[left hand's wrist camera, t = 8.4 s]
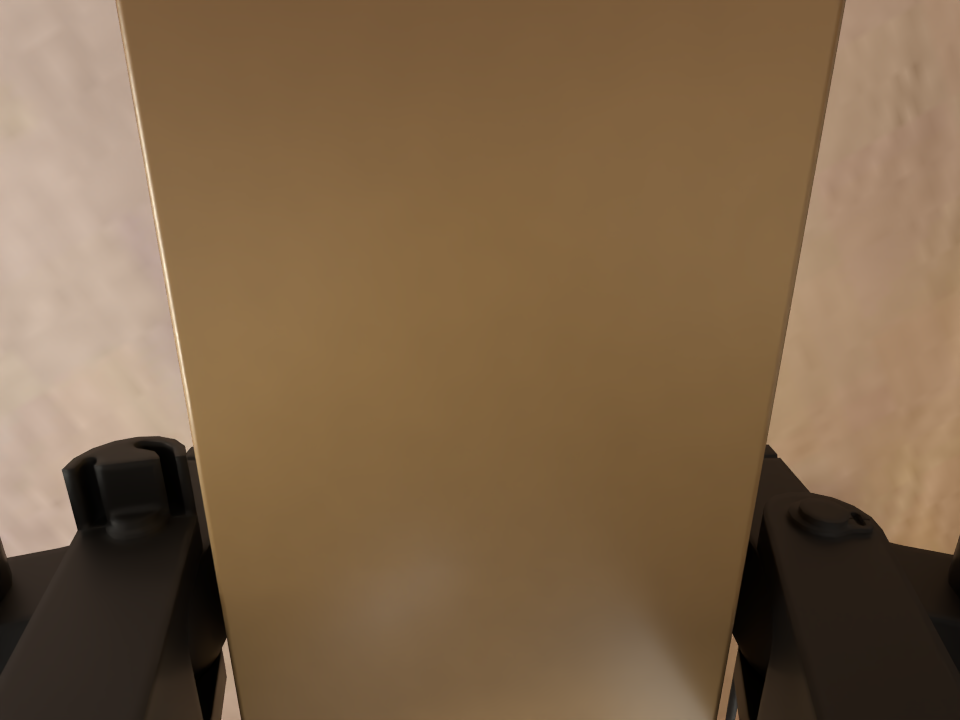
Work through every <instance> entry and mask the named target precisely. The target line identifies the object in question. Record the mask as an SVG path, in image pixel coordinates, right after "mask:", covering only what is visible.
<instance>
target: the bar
mask: <svg viewBox="0 0 960 720" xmlns="http://www.w3.org/2000/svg"><path fill="white" fill-rule="evenodd" d="M115 1H116V6H117V12H118V18H119V24H120V29H121V35H122V41H123V46H124V52H125V58H126V64H127V69H128V75H129V81H130V86H131V92H132V98H133V104H134V109H135V115H136V121H137V126H138V132H139V138H140V144H141V149H142V155H143V161H144V166H145V172H146V178H147V184H148V189H149V195H150V201H151V206H152V212H153V218H154V224H155V229H156V235H157V241H158V246H159V252H160V258H161V264H162V269H163V275H164V281H165V286H166V292H167V298H168V304H169V309H170V315H171V321H172V326H173V332H174V338H175V344H176V349H177V355H178V361H179V366H180V372H181V378H182V384H183V389H184V395H185V401H186V406H187V412H188V418H189V424H190V429H191V435H192V441H193V446H194V452H195V458H196V464H197V469H198V475H199V481H200V486H201V492H202V498H203V504H204V509H205V515H206V521H207V526H208V532H209V538H210V544H211V549H212V555H213V561H214V567H215V572H216V578H217V584H218V589H219V595H220V601H221V607H222V612H223V618H224V624H225V629H226V635H227V641H228V647H229V652H230V658H231V664H232V669H233V675H234V681H235V687H236V692H237V698H238V704H239V709H240V715H241V720H717V715H718V709H719V704H720V698H721V692H722V687H723V681H724V676H725V670H726V665H727V659H728V653H729V648H730V642H731V637H732V631H733V626H734V620H735V614H736V609H737V603H738V598H739V592H740V587H741V581H742V575H743V570H744V564H745V559H746V553H747V548H748V542H749V536H750V531H751V525H752V520H753V514H754V509H755V503H756V497H757V492H758V486H759V481H760V475H761V470H762V464H763V458H764V453H765V447H766V442H767V436H768V431H769V425H770V419H771V414H772V408H773V403H774V397H775V392H776V386H777V380H778V375H779V369H780V364H781V358H782V353H783V347H784V341H785V336H786V330H787V325H788V319H789V314H790V308H791V302H792V297H793V291H794V286H795V280H796V275H797V269H798V263H799V258H800V252H801V247H802V241H803V236H804V230H805V224H806V219H807V213H808V208H809V202H810V197H811V191H812V185H813V180H814V174H815V169H816V163H817V158H818V152H819V146H820V141H821V135H822V130H823V124H824V119H825V113H826V107H827V102H828V96H829V91H830V85H831V79H832V74H833V68H834V63H835V57H836V52H837V46H838V41H839V35H840V29H841V24H842V18H843V13H844V7H845V1H846V0H115Z"/></svg>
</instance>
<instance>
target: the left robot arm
mask: <svg viewBox="0 0 960 720" xmlns="http://www.w3.org/2000/svg"><path fill="white" fill-rule="evenodd" d="M62 472H63V476H64V480H65V484H66V487H67V491H68V495H69V499H70V503H71V506H72V510H73V514H74V518H75V522H76V525H77V529H78V531H77V533H76V535H75V537H74V539H73V540H72V542H71V544H70V546H66V547H62V548H57V549H52V550H47V551H41V552H36V553H31V554H25V555H20V556H15V557H9V558H7V557H6V554H5V551H4V548H3V545H2V541H1V538H0V720H221V715H222V708H223V700H224V693H225V685H226V678H227V676H226V669H225V663H224V657H223V652H222V646H223V644H224V642H225V640H226V638H227V635H226V629H225V624H224V618H223V612H222V607H221V601H220V595H219V589H218V584H217V578H216V572H215V567H214V561H213V555H212V549H211V544H210V538H209V532H208V526H207V521H206V515H205V509H204V504H203V498H202V492H201V486H200V481H199V475H198V469H197V464H196V458H195V452H194V447H191V448H190V449H189V450H188V452H187V453H186V449H185V446H184V445H183V444H181V443H180V442H178V441H177V440H175V439H170V438H165V437H160V436H151V437H134V438H129V439H123V440H118V441H114V442H111V443H108V444H105V445H102V446H99V447H96V448H93V449H91V450H89V451H87V452H85V453H83V454H81V455H79V456H78V457H76V458H74V459H73V460H72V461H71V462H70V463H68V464H67V465H66V466H65V467H64V468H63V469H62ZM732 633H733V635H734V638H735V640H736V642H737V644H738V652H737V657H736V663H735V668H734V674H733V679H732V685H731V690H730V695H729V701H728V706H727V713H726V720H735V717H736V712H737V708H738V714H739V720H960V536H959V539H958V543H957V546H956V549H955V552H954V555H951V554H946V553H940V552H935V551H929V550H924V549H919V548H913V547H908V546H902V545H898V544H894V543H890V542H889V541H888V539H887V537H886V536H885V534H884V532H883V530H882V529H881V528H880V526H879V525H878V524H877V523H876V522H875V521H874V520H873V518H872V517H870V516H869V515H867V514H866V513H864V512H863V511H861V510H859V509H858V508H856V507H855V506H853V505H850V504H848V503H845V502H843V501H840V500H838V499H835V498H833V497H828V496H824V495H819V494H814V493H810V492H809V491H808V489H807V488H806V487H805V486H804V485H803V484H802V483H801V481H800V480H799V479H798V478H797V477H796V476H795V474H794V473H793V472H792V471H791V470H790V469H789V468H788V466H787V465H786V464H785V463H784V462H783V461H782V460H781V458H777V454H776V453H775V451H774V450H773V449H772V448H771V447H770V446H769V445H766V447H765V453H764V458H763V464H762V470H761V475H760V481H759V486H758V492H757V497H756V503H755V509H754V514H753V520H752V525H751V531H750V536H749V542H748V548H747V553H746V559H745V564H744V570H743V575H742V581H741V587H740V592H739V598H738V603H737V609H736V614H735V620H734V626H733V631H732Z"/></svg>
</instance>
